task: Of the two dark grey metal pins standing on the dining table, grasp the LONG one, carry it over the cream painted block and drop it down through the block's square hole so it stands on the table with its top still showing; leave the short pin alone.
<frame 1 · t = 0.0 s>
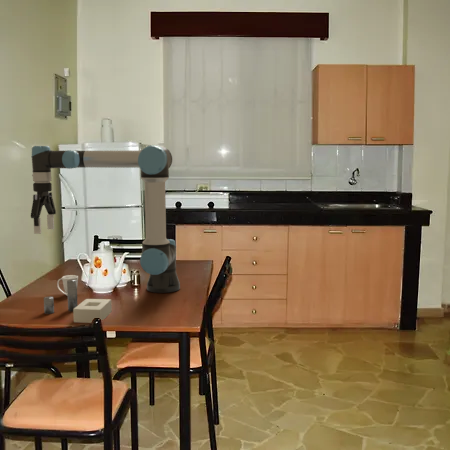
hand: (44, 231, 234), 28 cm above the table, fingers open, 13 cm apart
cup: (67, 294, 237), on the table
short pin: (49, 312, 210), on the table
long pin: (72, 310, 214), on the table
hole block: (93, 316, 205), on the table
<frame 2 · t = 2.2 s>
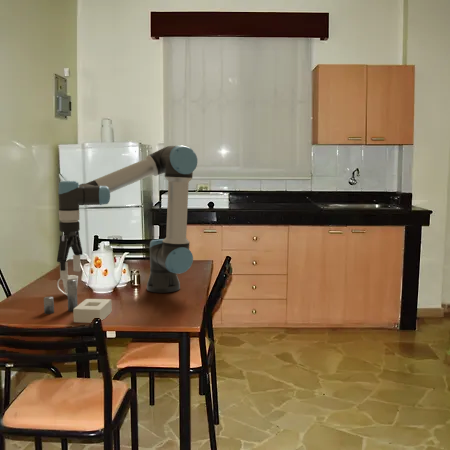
hand: (70, 274, 212), 14 cm above the table, fingers open, 13 cm apart
nothing on the table moved.
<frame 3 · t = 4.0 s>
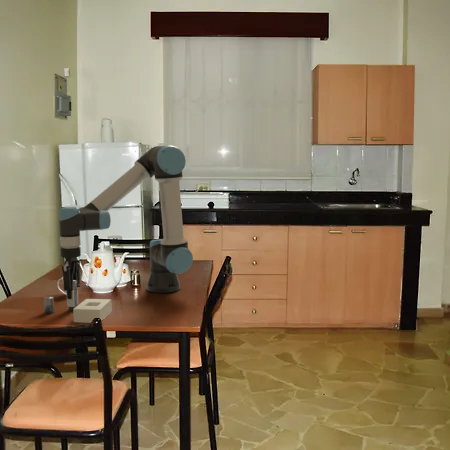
hand: (72, 304, 213), 2 cm above the table, fingers closed on long pin, 3 cm apart
long pin: (73, 310, 214), on the table, touching gripper
everything else where it was.
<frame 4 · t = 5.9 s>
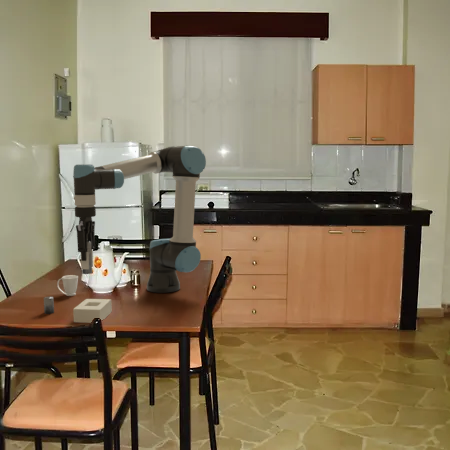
hand: (87, 267, 204), 19 cm above the table, fingers closed on long pin, 3 cm apart
long pin: (87, 273, 204), point 17 cm above the table, touching gripper
everything else where it was.
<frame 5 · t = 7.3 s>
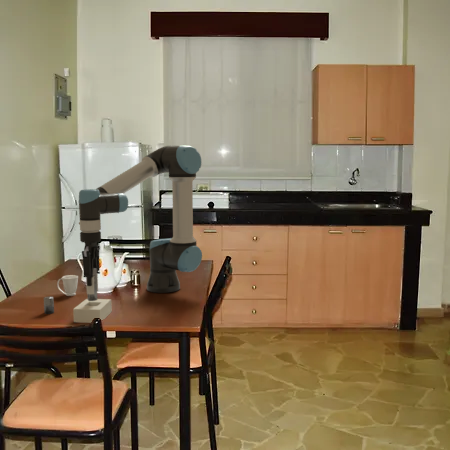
hand: (92, 292, 204), 10 cm above the table, fingers closed on long pin, 3 cm apart
long pin: (92, 299, 204), point 7 cm above the table, touching gripper
everything else where it was.
when the fingers open (6 cm above the table, at t = 8.2 s): long pin drops 3 cm, resting in hole block.
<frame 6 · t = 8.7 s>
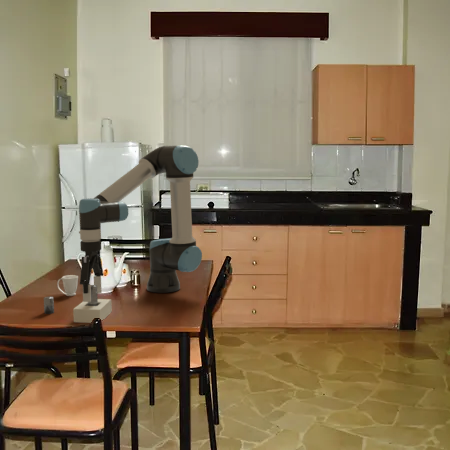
hand: (92, 297, 204), 8 cm above the table, fingers open, 11 cm apart
long pin: (93, 316, 205), resting in hole block
everything else where it was.
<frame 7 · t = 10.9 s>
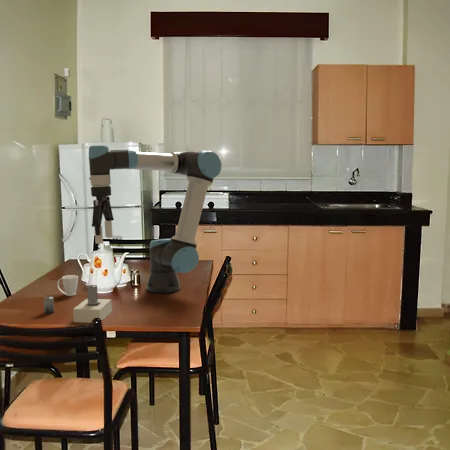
hand: (104, 240, 211), 28 cm above the table, fingers open, 13 cm apart
nothing on the table moved.
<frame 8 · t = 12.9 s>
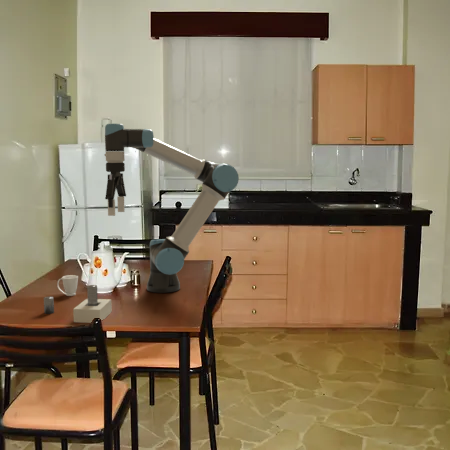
hand: (116, 213, 223), 37 cm above the table, fingers open, 13 cm apart
nothing on the table moved.
at the end: long pin 0.0 cm off-centre on the hole block, point 0.0 cm above the hole block's base; long pin tilted 0°; short pin moved 0.0 cm from its start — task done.
